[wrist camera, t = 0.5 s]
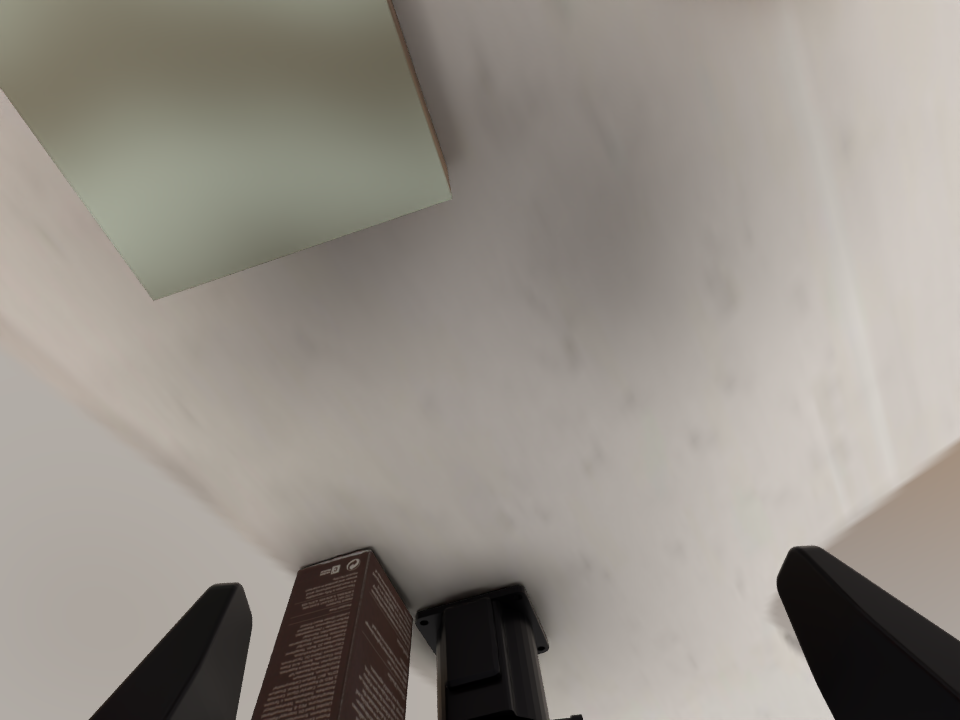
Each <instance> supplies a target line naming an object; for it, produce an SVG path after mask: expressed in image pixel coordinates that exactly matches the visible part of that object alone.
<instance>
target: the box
mask: <svg viewBox="0 0 960 720" xmlns="http://www.w3.org/2000/svg"><path fill="white" fill-rule="evenodd" d="M412 624H413V618H412V616H411V615H410V613H409V611H408V610H407V608H406V606H405V605H404V603H403V601H402V600H401V598H400V597H399V595H398V593H397V592H396V590H395V588H394V587H393V585H392V583H391V582H390V580H389V578H388V577H387V575H386V573H385V572H384V570H383V569H382V567H381V565H380V564H379V562H378V560H377V559H376V557H375V555H374V554H373V552H372V551H371V550H363V551H356V552H353V553H351V554H347V555H344V556H339V557H336V558H334V559H331V560H328V561H324V562H322V563H319V564H316V565H312V566H310V567H306V568H304V569H302V570H299V571H298V573H297V577H296V580H295V583H294V586H293V589H292V593H291V596H290V599H289V602H288V605H287V608H286V611H285V614H284V617H283V620H282V624H281V627H280V630H279V633H278V636H277V639H276V642H275V646H274V649H273V652H272V655H271V658H270V662H269V665H268V668H267V671H266V674H265V678H264V680H263V684H262V688H261V690H260V693H259V696H258V700H257V703H256V706H255V709H254V712H253V716H252V719H251V720H405V713H406V699H407V698H406V697H407V687H408V676H409V663H410V650H411V637H412Z"/></svg>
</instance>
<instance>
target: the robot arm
mask: <svg viewBox="0 0 960 720" xmlns="http://www.w3.org/2000/svg"><path fill="white" fill-rule="evenodd" d="M777 589H778V593H779V595H780V598H781V600H782V603H783V605H784V607H785V610H786V612H787V615H788V617H789V619H790V622H791V624H792V627H793V629H794V631H795V634H796V636H797V639H798V641H799V643H800V646H801V648H802V651H803V653H804V655H805V658H806V660H807V663H808V665H809V667H810V670H811V672H812V674H813V677H814V679H815V681H816V683H817V685H818V687H819V689H820V691H821V693H822V695H823V697H824V699H825V701H826V703H827V705H828V707H829V709H830V711H831V713H832V715H833V717H834V718H835V720H960V641H959V640H957V639H956V638H954V637H953V636H951V635H950V634H949V633H947V632H945V631H944V630H943V629H941V628H939V627H938V626H937V625H935V624H934V623H932V622H931V621H929V620H928V619H926V618H925V617H923V616H922V615H920V614H919V613H917V612H916V611H914V610H913V609H911V608H910V607H908V606H907V605H905V604H904V603H902V602H901V601H900V600H898V599H897V598H895V597H894V596H892V595H891V594H889V593H888V592H886V591H885V590H883V589H882V588H880V587H879V586H877V585H876V584H874V583H873V582H871V581H870V580H868V579H867V578H865V577H864V576H862V575H861V574H859V573H858V572H856V571H855V570H854V569H852V568H851V567H849V566H847V565H846V564H845V563H843V562H842V561H840V560H839V559H837V558H836V557H834V556H833V555H831V554H830V553H828V552H827V551H825V550H824V549H822V548H820V547H818V546H812V545H811V546H796V547H793V548H791V549H790V550H789V552H788V554H787V556H786V558H785V560H784V563H783V565H782V567H781V569H780V571H779V574H778V576H777ZM415 624H416V626H417V628H418V629H419V631H420V632H421V634H422V635H423V637H424V638H425V640H426V641H427V643H428V644H429V646H430V647H431V649H432V650H433V652H434V653H435V655H436V659H437V708H438V720H550V719H549V714H548V708H547V703H546V697H545V692H544V686H543V681H542V675H541V670H540V665H539V659H538V654H540V653H544V652H546V651H547V650H548V649H549V644H548V640H547V638H546V635H545V633H544V631H543V628H542V626H541V624H540V622H539V619H538V617H537V615H536V612H535V610H534V608H533V605H532V603H531V601H530V599H529V596H528V594H527V592H526V589H525V588H524V587H523V586H519V585H517V586H512V587H508V588H505V589H501V590H497V591H494V592H490V593H486V594H483V595H479V596H476V597H472V598H468V599H465V600H461V601H457V602H454V603H450V604H446V605H443V606H439V607H435V608H432V609H428V610H424V611H421V612H419V613H417V614H416V616H415ZM251 631H252V614H251V611H250V608H249V605H248V601H247V598H246V595H245V592H244V589H243V587H242V585H241V584H239V583H220V584H215V585H212V586H211V587H209V588H208V589H207V590H206V592H205V593H204V594H203V595H202V596H201V597H200V598H199V599H198V600H197V601H196V602H195V604H194V605H193V606H192V607H191V608H190V609H189V610H188V611H187V612H186V613H185V615H184V616H183V617H182V618H181V619H180V620H179V621H178V622H177V623H176V624H175V626H174V627H173V628H172V629H171V630H170V631H169V632H168V633H167V634H166V636H165V637H164V638H163V639H162V640H161V641H160V642H159V643H158V644H157V645H156V646H155V647H154V649H153V650H152V651H151V652H150V653H149V654H148V655H147V656H146V657H145V658H144V660H143V661H142V662H141V663H140V664H139V665H138V666H137V667H136V668H135V670H134V671H133V672H132V673H131V674H130V675H129V676H128V677H127V678H126V679H125V681H124V682H123V683H122V684H121V685H120V686H119V687H118V688H117V689H116V690H115V691H114V693H113V694H112V695H111V696H110V697H109V698H108V699H107V700H106V701H105V702H104V704H103V705H102V706H101V707H100V708H99V709H98V710H97V711H96V712H95V714H94V715H93V716H92V717H91V718H90V719H89V720H236V714H237V709H238V703H239V698H240V692H241V687H242V681H243V675H244V670H245V664H246V659H247V653H248V648H249V642H250V636H251ZM555 720H583V717H582V715H581V714H580V715H572V716H571V717H570V718H564V719H555Z"/></svg>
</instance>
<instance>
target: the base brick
mask: <svg viewBox="0 0 960 720" xmlns="http://www.w3.org/2000/svg"><path fill="white" fill-rule="evenodd" d="M0 88H1V89H2V90H3V92H4V93H5V95H6V96H7V97H8V99H9V100H10V102H11V103H12V104H13V106H14V107H15V109H16V110H17V111H18V113H19V114H20V116H21V117H22V118H23V120H24V121H25V123H26V124H27V125H28V127H29V128H30V129H31V131H32V132H33V134H34V135H35V136H36V138H37V139H38V141H39V142H40V143H41V145H42V146H43V148H44V149H45V150H46V152H47V153H48V155H49V156H50V157H51V159H52V160H53V162H54V163H55V164H56V166H57V167H58V168H59V170H60V171H61V173H62V174H63V175H64V177H65V178H66V180H67V181H68V182H69V184H70V185H71V187H72V188H73V189H74V191H75V192H76V194H77V195H78V196H79V198H80V199H81V201H82V202H83V203H84V205H85V206H86V208H87V209H88V210H89V212H90V213H91V214H92V216H93V217H94V219H95V220H96V221H97V223H98V224H99V226H100V227H101V228H102V230H103V231H104V233H105V234H106V235H107V237H108V238H109V240H110V241H111V242H112V244H113V245H114V247H115V248H116V249H117V251H118V252H119V253H120V255H121V256H122V258H123V259H124V260H125V262H126V263H127V265H128V266H129V267H130V269H131V270H132V272H133V273H134V274H135V276H136V277H137V279H138V280H139V281H140V283H141V284H142V286H143V287H144V288H145V290H146V291H147V292H148V294H149V295H150V297H151V298H152V299H153V301H154V300H157V299H160V298H163V297H166V296H169V295H172V294H175V293H178V292H181V291H183V290H186V289H189V288H192V287H195V286H198V285H201V284H204V283H207V282H210V281H213V280H216V279H219V278H222V277H225V276H228V275H231V274H233V273H236V272H239V271H242V270H245V269H248V268H251V267H254V266H257V265H260V264H263V263H266V262H269V261H272V260H275V259H278V258H280V257H283V256H286V255H289V254H292V253H295V252H298V251H301V250H304V249H307V248H310V247H313V246H316V245H319V244H322V243H325V242H328V241H330V240H333V239H336V238H339V237H342V236H345V235H348V234H351V233H354V232H357V231H360V230H363V229H366V228H369V227H372V226H375V225H377V224H380V223H383V222H386V221H389V220H392V219H395V218H398V217H401V216H404V215H407V214H410V213H413V212H416V211H419V210H422V209H425V208H427V207H430V206H433V205H436V204H439V203H442V202H445V201H448V200H451V199H452V194H451V188H450V183H449V177H448V171H447V166H446V163H445V160H444V157H443V154H442V151H441V148H440V145H439V142H438V139H437V136H436V133H435V130H434V127H433V124H432V121H431V118H430V115H429V112H428V109H427V106H426V103H425V100H424V97H423V94H422V91H421V88H420V85H419V82H418V79H417V76H416V73H415V70H414V67H413V64H412V61H411V58H410V55H409V52H408V49H407V46H406V42H405V39H404V36H403V33H402V30H401V27H400V24H399V21H398V18H397V15H396V12H395V9H394V6H393V3H392V0H0Z"/></svg>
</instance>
